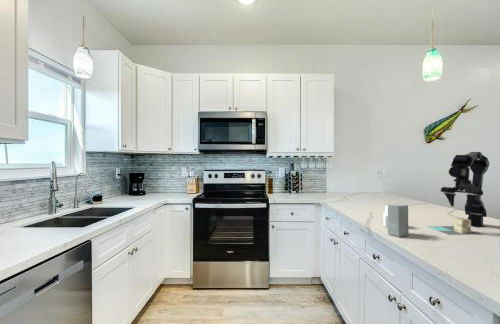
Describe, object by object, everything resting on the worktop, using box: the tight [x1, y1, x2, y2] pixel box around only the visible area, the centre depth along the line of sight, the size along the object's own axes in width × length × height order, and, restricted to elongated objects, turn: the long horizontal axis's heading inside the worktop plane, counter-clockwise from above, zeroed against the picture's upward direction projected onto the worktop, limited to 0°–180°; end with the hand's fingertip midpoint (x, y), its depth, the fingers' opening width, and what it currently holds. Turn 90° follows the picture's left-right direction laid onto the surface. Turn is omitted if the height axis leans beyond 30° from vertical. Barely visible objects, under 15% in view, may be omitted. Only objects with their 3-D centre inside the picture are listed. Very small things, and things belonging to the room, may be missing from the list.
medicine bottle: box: [382, 205, 388, 229], centre depth 155 cm, size 7×7×12 cm
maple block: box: [453, 217, 472, 233], centre depth 143 cm, size 5×5×7 cm
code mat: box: [428, 225, 481, 236], centre depth 146 cm, size 18×16×1 cm
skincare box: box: [387, 203, 409, 238], centre depth 138 cm, size 8×7×16 cm
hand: (460, 207), depth 143 cm, fingers open, 9 cm apart
